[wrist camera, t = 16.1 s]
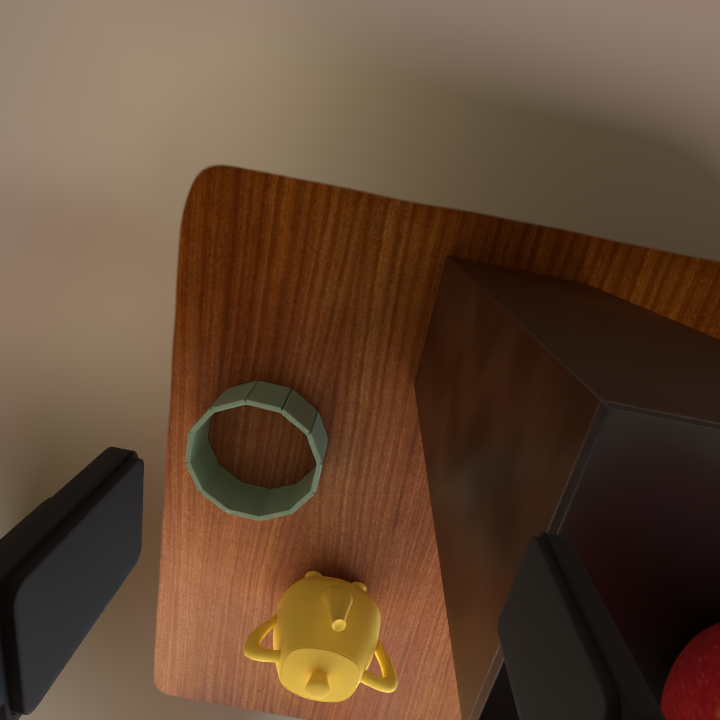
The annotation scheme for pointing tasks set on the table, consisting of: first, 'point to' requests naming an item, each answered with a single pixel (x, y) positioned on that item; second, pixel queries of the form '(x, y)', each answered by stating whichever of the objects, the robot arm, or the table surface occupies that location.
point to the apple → (695, 680)
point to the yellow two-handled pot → (324, 640)
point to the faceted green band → (247, 496)
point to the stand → (568, 462)
